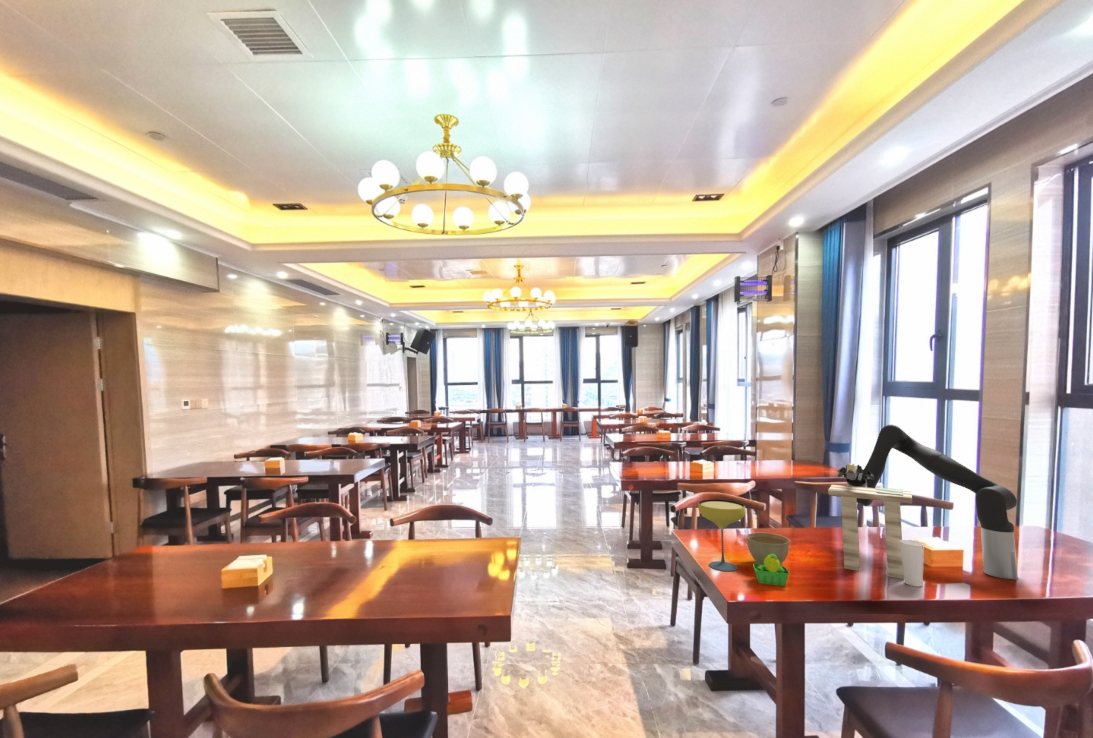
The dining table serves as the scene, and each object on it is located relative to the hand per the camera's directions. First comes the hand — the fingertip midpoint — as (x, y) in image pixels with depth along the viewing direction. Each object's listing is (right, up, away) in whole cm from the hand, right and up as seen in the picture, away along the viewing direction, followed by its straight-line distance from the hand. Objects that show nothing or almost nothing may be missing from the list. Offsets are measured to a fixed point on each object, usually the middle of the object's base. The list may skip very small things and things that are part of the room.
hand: (853, 466), depth 193 cm
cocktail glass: (-56, -40, -5) cm, 69 cm away
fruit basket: (-45, -39, -21) cm, 63 cm away
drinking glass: (+6, -38, -24) cm, 45 cm away
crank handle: (-4, -2, -5) cm, 7 cm away
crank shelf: (-2, -39, -14) cm, 41 cm away
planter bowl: (-37, -40, -3) cm, 55 cm away
